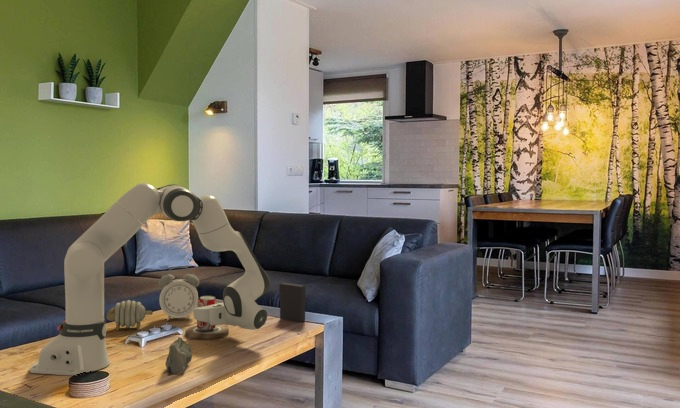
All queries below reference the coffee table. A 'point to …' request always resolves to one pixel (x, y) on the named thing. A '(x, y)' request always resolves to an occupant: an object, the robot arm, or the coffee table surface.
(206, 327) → the soda can
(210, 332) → the ring plate
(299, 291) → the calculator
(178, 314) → the alarm clock
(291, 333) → the coffee table surface
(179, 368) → the mineral rock
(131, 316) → the toy sheep
